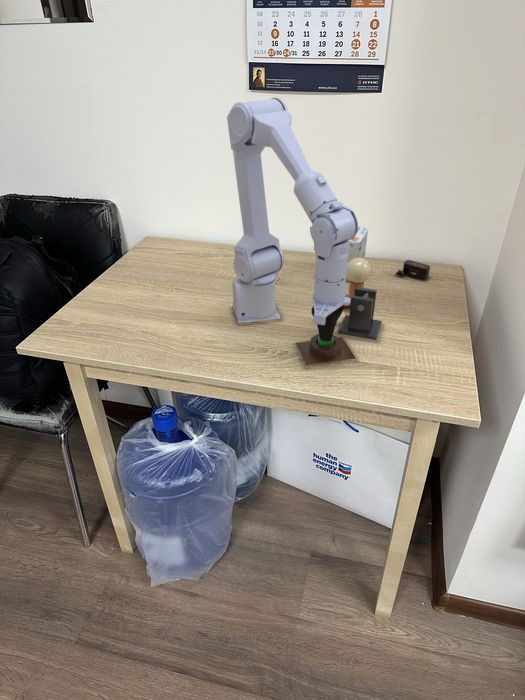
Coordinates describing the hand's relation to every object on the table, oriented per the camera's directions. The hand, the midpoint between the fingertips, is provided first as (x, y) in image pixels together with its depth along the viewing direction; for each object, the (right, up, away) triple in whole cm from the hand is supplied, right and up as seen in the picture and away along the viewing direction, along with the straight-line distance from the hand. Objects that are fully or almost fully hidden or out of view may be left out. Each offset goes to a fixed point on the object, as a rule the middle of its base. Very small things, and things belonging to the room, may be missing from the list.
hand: (325, 338), depth 102 cm
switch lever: (+5, +6, +8) cm, 11 cm away
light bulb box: (+10, +18, +33) cm, 39 cm away
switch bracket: (+8, +2, +9) cm, 12 cm away
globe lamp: (+9, +8, +18) cm, 21 cm away
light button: (0, -1, +1) cm, 2 cm away
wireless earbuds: (+26, +16, +31) cm, 43 cm away
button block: (0, -3, +2) cm, 3 cm away
